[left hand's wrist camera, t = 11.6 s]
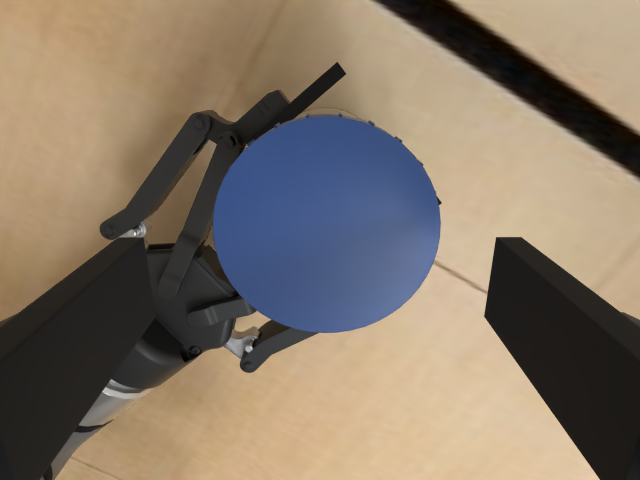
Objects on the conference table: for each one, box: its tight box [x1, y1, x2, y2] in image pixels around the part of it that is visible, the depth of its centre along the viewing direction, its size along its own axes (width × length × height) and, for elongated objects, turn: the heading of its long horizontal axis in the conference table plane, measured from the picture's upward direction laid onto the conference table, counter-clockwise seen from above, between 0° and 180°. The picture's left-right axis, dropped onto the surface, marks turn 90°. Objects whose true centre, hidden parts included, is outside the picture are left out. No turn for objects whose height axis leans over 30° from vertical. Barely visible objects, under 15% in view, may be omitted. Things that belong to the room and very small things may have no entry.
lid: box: [213, 113, 441, 333], centre depth 18 cm, size 9×9×2 cm
